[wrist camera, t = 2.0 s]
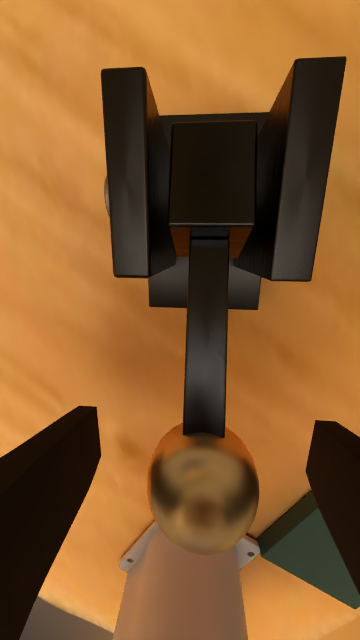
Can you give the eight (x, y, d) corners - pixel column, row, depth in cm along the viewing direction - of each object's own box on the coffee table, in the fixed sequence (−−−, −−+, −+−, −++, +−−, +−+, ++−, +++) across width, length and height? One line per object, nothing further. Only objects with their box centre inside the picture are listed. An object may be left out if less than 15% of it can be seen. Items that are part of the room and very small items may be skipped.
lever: (245, 503, 8) (275, 605, 5) (154, 495, 8) (130, 587, 5) (250, 186, 9) (278, 106, 6) (168, 186, 9) (153, 109, 6)
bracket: (254, 306, 14) (317, 368, 6) (152, 303, 14) (100, 358, 7) (272, 123, 11) (408, -122, 4) (148, 126, 12) (62, -88, 4)
